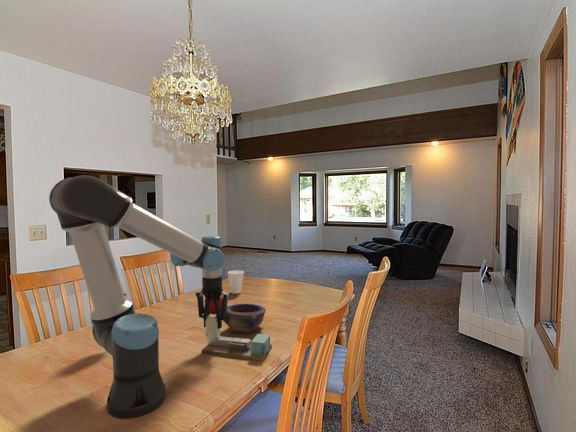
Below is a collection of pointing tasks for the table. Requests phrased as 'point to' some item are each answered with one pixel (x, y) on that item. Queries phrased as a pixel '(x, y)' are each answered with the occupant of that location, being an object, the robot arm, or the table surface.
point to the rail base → (234, 351)
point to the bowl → (244, 317)
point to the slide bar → (220, 340)
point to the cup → (235, 281)
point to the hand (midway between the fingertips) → (212, 335)
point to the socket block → (260, 344)
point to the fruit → (212, 307)
